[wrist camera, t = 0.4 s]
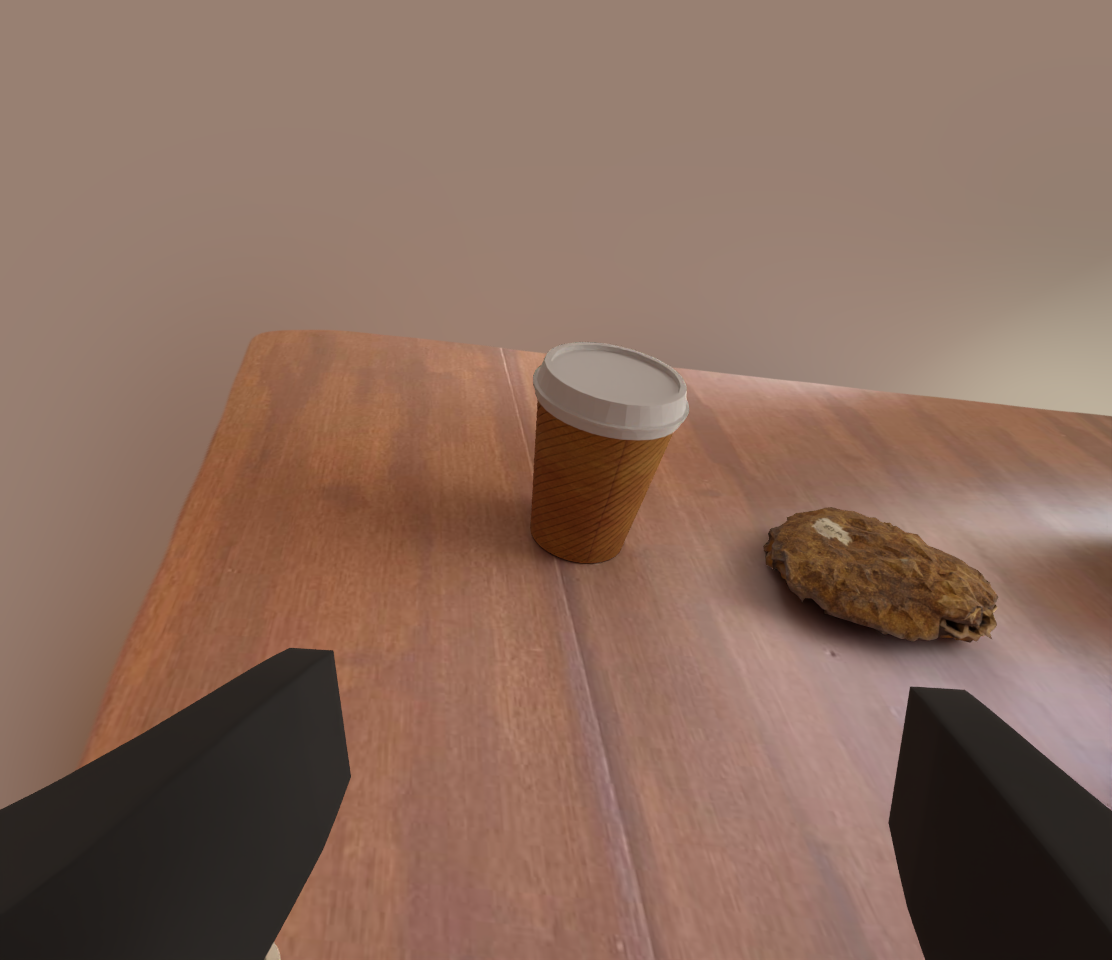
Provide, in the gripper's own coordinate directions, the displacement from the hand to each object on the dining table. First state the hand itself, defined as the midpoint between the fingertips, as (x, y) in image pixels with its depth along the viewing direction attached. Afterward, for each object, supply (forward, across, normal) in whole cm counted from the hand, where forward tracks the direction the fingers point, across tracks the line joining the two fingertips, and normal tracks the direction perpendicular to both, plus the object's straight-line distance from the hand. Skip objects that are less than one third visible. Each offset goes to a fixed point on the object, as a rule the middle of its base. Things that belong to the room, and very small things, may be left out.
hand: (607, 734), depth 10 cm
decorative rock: (+42, -14, +20) cm, 48 cm away
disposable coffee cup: (+40, +5, +16) cm, 43 cm away
